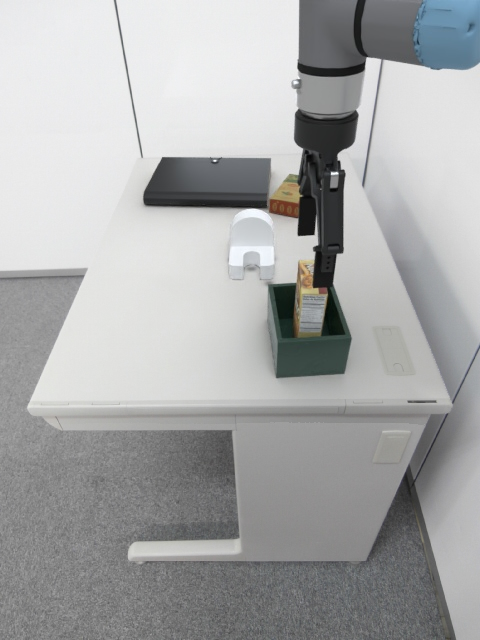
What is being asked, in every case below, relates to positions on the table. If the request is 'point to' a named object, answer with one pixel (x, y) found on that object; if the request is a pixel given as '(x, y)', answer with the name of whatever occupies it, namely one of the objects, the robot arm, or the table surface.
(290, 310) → the open storage box
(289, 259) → the table surface
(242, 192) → the file folder
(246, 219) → the white plastic bracket
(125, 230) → the table surface
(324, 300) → the candy box
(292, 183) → the carton
